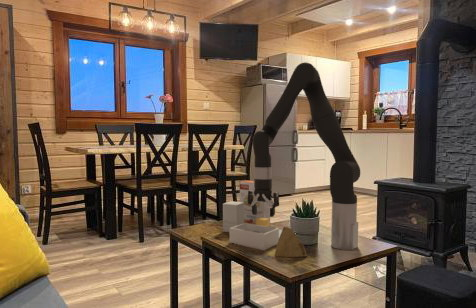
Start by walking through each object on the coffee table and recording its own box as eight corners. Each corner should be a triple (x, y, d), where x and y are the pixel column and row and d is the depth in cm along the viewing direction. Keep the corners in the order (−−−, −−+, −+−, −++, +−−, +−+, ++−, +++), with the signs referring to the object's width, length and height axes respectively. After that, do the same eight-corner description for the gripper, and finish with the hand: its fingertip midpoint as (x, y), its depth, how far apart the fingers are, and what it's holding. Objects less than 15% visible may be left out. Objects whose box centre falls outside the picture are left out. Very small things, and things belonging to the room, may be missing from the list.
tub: (278, 243, 148) (278, 228, 148) (264, 250, 139) (264, 234, 139) (245, 237, 157) (245, 222, 157) (229, 243, 148) (229, 228, 148)
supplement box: (244, 230, 169) (245, 202, 168) (236, 233, 162) (236, 204, 162) (230, 228, 172) (231, 200, 172) (222, 231, 166) (222, 203, 165)
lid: (299, 237, 157) (299, 220, 157) (285, 243, 148) (286, 226, 148) (259, 230, 169) (259, 214, 168) (244, 235, 159) (245, 219, 159)
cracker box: (238, 224, 179) (239, 181, 178) (246, 222, 184) (246, 179, 183) (263, 229, 171) (263, 183, 170) (270, 226, 176) (270, 182, 175)
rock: (313, 247, 135) (289, 239, 141) (309, 232, 130) (284, 224, 136) (299, 271, 129) (274, 261, 135) (294, 256, 124) (269, 247, 130)
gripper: (282, 177, 158) (282, 215, 159) (253, 176, 167) (253, 212, 167) (273, 179, 152) (273, 219, 153) (244, 177, 160) (244, 215, 161)
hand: (263, 215), depth 160 cm, fingers open, 8 cm apart
